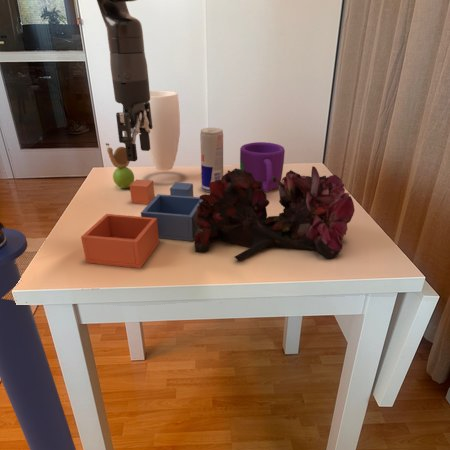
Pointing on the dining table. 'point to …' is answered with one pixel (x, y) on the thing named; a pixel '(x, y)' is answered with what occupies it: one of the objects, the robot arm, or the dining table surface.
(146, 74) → the robot arm
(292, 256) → the dining table surface
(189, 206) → the blue bin
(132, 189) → the terracotta block
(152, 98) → the white vase
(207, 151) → the beverage can
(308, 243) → the flower arrangement
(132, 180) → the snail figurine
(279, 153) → the mug
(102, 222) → the terracotta bin
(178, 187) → the blue block
